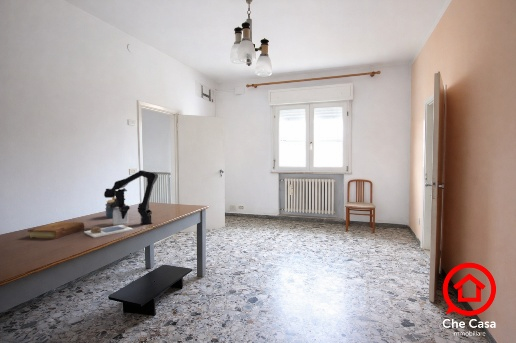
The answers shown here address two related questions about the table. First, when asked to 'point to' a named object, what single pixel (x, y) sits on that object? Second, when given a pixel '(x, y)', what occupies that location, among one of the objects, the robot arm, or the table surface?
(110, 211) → the canister
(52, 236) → the diary
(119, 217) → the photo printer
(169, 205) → the table surface
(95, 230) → the blueprint board
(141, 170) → the robot arm
